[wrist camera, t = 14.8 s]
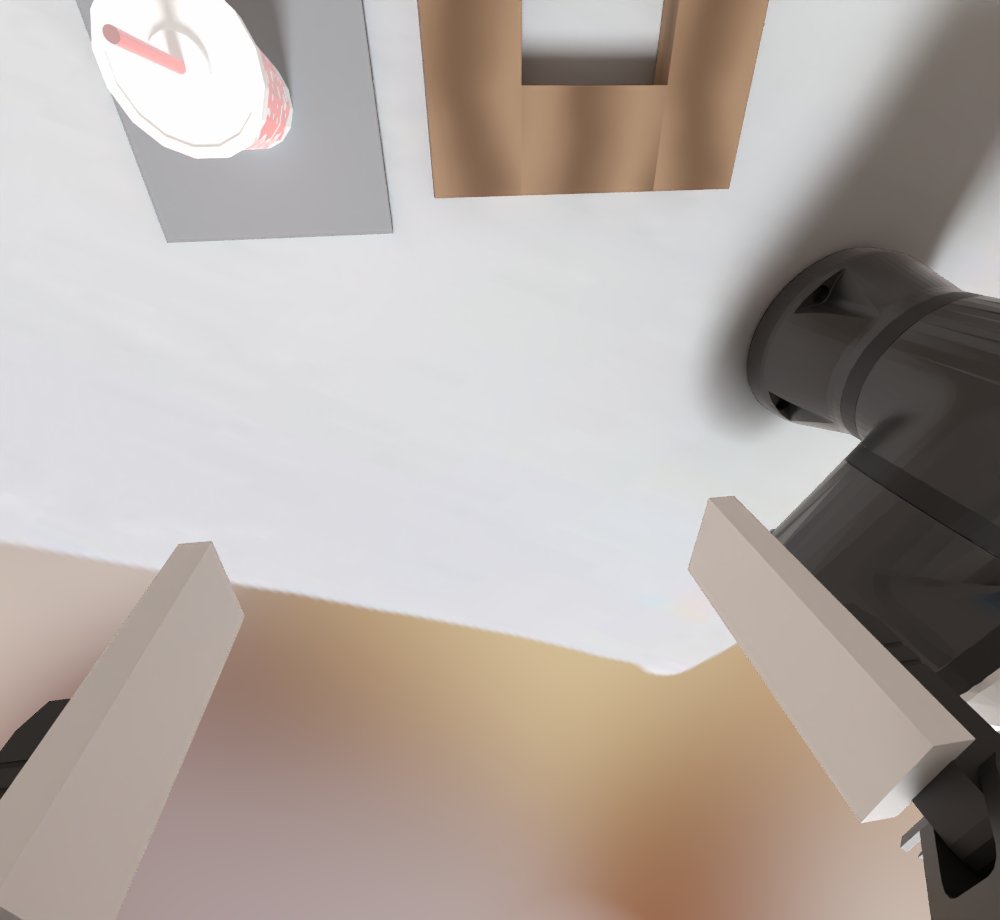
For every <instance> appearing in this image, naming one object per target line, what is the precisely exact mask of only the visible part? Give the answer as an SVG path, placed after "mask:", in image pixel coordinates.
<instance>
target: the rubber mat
mask: <svg viewBox="0 0 1000 920" xmlns="http://www.w3.org/2000/svg"><path fill="white" fill-rule="evenodd" d="M93 1H94V0H76V2H77V5H78V8H79V10H80V13H81V16H82V18H83V21H84V23H85V26H86V29H87V31H88V34H89V37H90V39H91V16H90V8H91V6H92V3H93ZM225 1H226V2H227V3H228V4H229V5H230V6H231V7H232V8H233V9H234V10H235V11H236V12H237V14H238V15H239V16H240V17H241V19H242V21H243V22H244V24H245V26H246V28H247V30H248V31H249V33H250V35H251V37H252V38H253V40H254V42H255V44H256V45H257V46H258V48H259V49H260V50H261V51H262V52H263V54H264V55H265V56H266V57H267V58H268V59H269V61H270V62H271V63H272V64H273V65H274V67H275V68H276V69H277V70H278V71H279V73H280V75H281V77H282V79H283V80H284V82H285V84H286V86H287V88H288V89H289V93H290V98H291V103H292V107H293V114H292V122H291V128H290V130H289V131H288V133H287V135H286V136H285V138H284V140H283V141H282V142H280V143H278V144H277V145H275V146H273V147H271V148H269V149H253V150H242V151H240V152H239V153H237V154H235V155H233V156H232V157H230V158H202V159H196V158H193V157H190V156H187V155H185V154H182V153H180V152H177V151H174V150H172V149H169V148H166V147H164V146H162V145H161V144H160V143H158V142H157V141H156V140H155V139H153V138H152V137H151V136H150V135H148V134H147V133H146V132H145V131H143V130H142V129H141V128H139V127H138V126H137V125H136V124H134V123H133V122H132V121H131V119H130V118H129V117H128V115H127V114H126V113H125V111H124V110H123V108H122V107H121V106H120V104H119V103H118V102H117V100H116V99H115V98H114V96H113V95H112V94H111V95H112V98H113V100H114V103H115V106H116V108H117V111H118V114H119V116H120V119H121V122H122V124H123V127H124V129H125V132H126V135H127V137H128V140H129V143H130V145H131V148H132V151H133V153H134V156H135V159H136V161H137V164H138V167H139V169H140V172H141V175H142V177H143V180H144V182H145V185H146V188H147V190H148V193H149V196H150V198H151V201H152V204H153V206H154V209H155V212H156V214H157V217H158V220H159V222H160V225H161V228H162V230H163V233H164V235H165V238H166V241H167V243H172V242H196V241H220V240H244V239H268V238H292V237H316V236H340V235H365V234H389V233H393V229H392V221H391V214H390V206H389V199H388V191H387V184H386V177H385V169H384V162H383V154H382V147H381V139H380V132H379V124H378V117H377V109H376V102H375V94H374V87H373V79H372V72H371V64H370V57H369V49H368V42H367V35H366V27H365V20H364V12H363V5H362V0H225ZM91 42H92V39H91Z"/></svg>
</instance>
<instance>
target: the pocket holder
mask: <svg viewBox="0 0 1000 920" xmlns="http://www.w3.org/2000/svg"><path fill="white" fill-rule="evenodd" d="M768 2H769V0H664V3H663V12H662V20H661V28H660V36H659V44H658V52H657V60H656V68H655V77H654V85H522V0H417V4H418V15H419V27H420V38H421V50H422V61H423V73H424V84H425V96H426V107H427V119H428V131H429V142H430V154H431V165H432V177H433V188H434V197H435V198H456V197H487V196H517V195H548V194H579V193H610V192H641V191H672V190H703V189H729V186H730V181H731V176H732V172H733V167H734V162H735V158H736V153H737V148H738V144H739V139H740V134H741V129H742V125H743V120H744V115H745V111H746V106H747V101H748V97H749V92H750V87H751V82H752V78H753V73H754V68H755V64H756V59H757V54H758V50H759V45H760V40H761V35H762V31H763V26H764V21H765V17H766V12H767V7H768Z"/></svg>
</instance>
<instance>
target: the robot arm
mask: <svg viewBox="0 0 1000 920" xmlns="http://www.w3.org/2000/svg"><path fill="white" fill-rule="evenodd" d="M747 372H748V380H749V385H750V387H751V390H752V392H753V394H754V396H755V397H756V399H757V400H758V401H759V402H760V403H761V404H762V405H763V406H764V407H766V408H767V409H769V410H770V411H772V412H773V413H775V414H776V415H778V416H780V417H781V418H783V419H785V420H788V421H790V422H793V423H797V424H802V425H807V426H812V427H817V428H822V429H827V430H832V431H837V432H842V433H847V434H851V435H853V436H855V437H856V438H858V439H860V440H861V442H860V444H859V445H858V446H857V447H856V448H855V449H854V450H853V451H852V452H851V453H850V454H849V455H848V456H847V457H846V458H845V459H844V460H843V461H842V462H841V463H840V464H839V465H838V466H837V467H836V468H835V469H834V470H833V471H832V472H831V473H830V474H829V475H828V476H827V478H826V479H825V480H824V481H823V482H822V483H821V484H820V485H819V486H818V487H817V488H816V489H815V490H814V491H813V492H812V493H811V494H810V495H809V496H808V497H807V498H806V499H805V500H804V501H803V502H802V503H801V504H800V505H799V506H798V507H797V508H796V509H795V510H794V511H793V512H792V513H791V514H790V515H789V516H788V517H787V518H786V519H785V520H784V521H783V522H782V523H781V524H780V525H779V526H778V527H777V528H776V529H771V530H770V531H768V530H767V529H766V528H765V527H764V526H763V525H762V524H761V523H760V522H759V521H758V520H757V519H756V517H755V516H754V515H753V514H752V513H751V512H750V511H749V510H748V509H747V508H746V507H745V506H744V505H743V504H742V503H741V502H740V501H739V500H738V499H737V498H736V497H735V496H727V497H716V498H709V499H708V502H707V506H706V509H705V513H704V516H703V519H702V523H701V526H700V530H699V533H698V536H697V540H696V543H695V546H694V550H693V553H692V557H691V560H690V563H689V567H688V571H689V572H690V574H691V575H692V577H693V578H694V580H695V581H696V583H697V584H698V585H699V587H700V588H701V590H702V591H703V593H704V594H705V596H706V597H707V599H708V600H709V602H710V603H711V605H712V606H713V608H714V609H715V610H716V612H717V613H718V615H719V616H720V618H721V619H722V621H723V622H724V624H725V625H726V627H727V628H728V630H729V631H730V632H731V634H732V635H733V637H734V638H735V640H736V641H737V643H738V644H739V646H740V647H741V649H742V650H743V651H744V653H745V654H746V656H747V657H748V659H749V660H750V662H751V663H752V665H753V666H754V668H755V669H756V671H757V672H758V673H759V675H760V677H761V678H762V679H763V681H764V682H765V684H766V685H767V687H768V688H769V690H770V691H771V693H772V694H773V695H774V697H775V698H776V700H777V701H778V703H779V704H780V706H781V707H782V709H783V710H784V712H785V713H786V715H787V716H788V717H789V719H790V721H791V722H792V724H793V725H794V726H795V727H796V729H797V731H798V732H799V733H800V735H801V737H802V738H803V740H804V741H805V743H806V744H807V745H808V747H809V748H810V750H811V751H812V753H813V754H814V756H815V757H816V759H817V760H818V761H819V763H820V765H821V766H822V768H823V769H824V771H825V772H826V773H827V775H828V776H829V778H830V779H831V781H832V782H833V784H834V785H835V787H836V788H837V790H838V791H839V793H840V794H841V795H842V797H843V798H844V800H845V801H846V803H847V804H848V806H849V807H850V809H851V810H852V812H853V813H854V815H855V816H856V817H857V819H858V820H859V822H860V823H864V822H870V821H875V820H881V819H886V818H891V817H896V816H898V815H899V814H900V813H901V812H902V811H903V810H904V809H905V808H906V807H907V806H908V805H909V804H910V803H911V802H913V803H914V804H915V805H916V807H917V808H918V809H919V810H920V812H921V813H922V814H923V815H924V817H923V818H922V819H921V820H920V821H919V822H918V823H916V824H915V825H914V826H913V827H912V828H911V829H910V830H909V831H908V832H907V833H906V834H905V835H903V836H902V840H901V847H900V848H901V849H903V850H905V851H907V852H908V851H909V850H910V849H911V848H913V847H914V846H915V845H916V844H917V843H918V842H920V841H921V845H922V852H921V853H920V854H919V858H920V859H922V860H923V861H924V869H925V876H926V883H927V891H928V899H929V906H930V913H931V920H1000V299H999V298H994V297H988V296H983V295H978V294H973V293H969V292H964V291H962V290H960V289H959V288H958V287H956V286H955V285H953V284H952V283H950V282H949V281H947V280H946V279H944V278H943V277H941V276H940V275H938V274H937V273H935V272H934V271H932V270H931V269H930V268H928V267H927V266H925V265H924V264H922V263H921V262H919V261H918V260H916V259H915V258H913V257H911V256H909V255H906V254H904V253H901V252H897V251H892V250H885V249H879V248H871V247H859V248H852V249H847V250H843V251H840V252H837V253H835V254H832V255H830V256H828V257H826V258H824V259H822V260H820V261H818V262H816V263H815V264H813V265H812V266H810V267H809V268H807V269H806V270H805V271H803V272H802V273H801V274H799V275H798V276H797V277H796V278H795V279H794V280H792V281H791V282H790V283H789V284H788V285H787V286H786V287H785V288H784V289H783V291H782V292H781V293H780V294H779V295H778V296H777V297H776V299H775V300H774V301H773V303H772V304H771V305H770V307H769V308H768V310H767V311H766V313H765V314H764V316H763V318H762V320H761V322H760V323H759V325H758V328H757V330H756V332H755V334H754V337H753V340H752V343H751V346H750V351H749V356H748V365H747ZM244 617H245V616H244V614H243V611H242V609H241V607H240V604H239V602H238V600H237V598H236V595H235V593H234V591H233V589H232V586H231V584H230V582H229V579H228V577H227V575H226V572H225V570H224V568H223V565H222V563H221V561H220V559H219V556H218V554H217V552H216V549H215V547H214V545H213V542H212V541H209V542H197V543H186V544H178V546H177V547H176V549H175V550H174V552H173V553H172V554H171V556H170V557H169V559H168V560H167V562H166V563H165V565H164V566H163V567H162V569H161V570H160V572H159V573H158V575H157V576H156V578H155V579H154V580H153V582H152V583H151V585H150V586H149V588H148V589H147V590H146V592H145V593H144V595H143V596H142V597H141V599H140V600H139V602H138V603H137V605H136V606H135V608H134V609H133V610H132V612H131V613H130V615H129V616H128V618H127V619H126V620H125V622H124V623H123V625H122V626H121V628H120V629H119V630H118V632H117V634H116V635H115V636H114V638H113V639H112V640H111V642H110V643H109V645H108V646H107V648H106V649H105V651H104V652H103V653H102V655H101V656H100V658H99V659H98V661H97V662H96V664H95V665H94V666H93V668H92V669H91V671H90V672H89V674H88V675H87V676H86V678H85V679H84V681H83V682H82V684H81V685H80V687H79V688H78V690H77V691H76V692H75V694H74V695H73V696H72V698H71V699H63V700H55V701H49V702H48V703H47V704H46V705H45V706H43V707H42V708H41V709H40V710H39V711H38V712H36V713H35V714H34V715H33V716H32V717H31V718H30V719H29V720H27V722H25V723H24V724H23V725H22V726H21V727H20V728H19V729H17V730H16V731H15V732H14V734H13V735H12V737H11V738H10V739H9V740H8V742H7V743H6V744H5V746H4V747H3V748H2V750H1V751H0V920H116V918H117V915H118V913H119V910H120V908H121V906H122V903H123V901H124V899H125V896H126V894H127V892H128V889H129V887H130V885H131V882H132V880H133V878H134V875H135V873H136V870H137V868H138V866H139V864H140V861H141V859H142V857H143V854H144V852H145V849H146V847H147V845H148V842H149V840H150V838H151V835H152V833H153V831H154V828H155V826H156V824H157V821H158V819H159V817H160V814H161V812H162V810H163V807H164V805H165V803H166V800H167V798H168V795H169V793H170V791H171V788H172V786H173V784H174V781H175V779H176V777H177V774H178V772H179V770H180V767H181V765H182V763H183V760H184V758H185V755H186V753H187V750H188V749H189V746H190V744H191V741H192V739H193V737H194V734H195V732H196V729H197V727H198V725H199V722H200V720H201V718H202V715H203V713H204V711H205V708H206V706H207V704H208V702H209V699H210V697H211V694H212V692H213V690H214V687H215V685H216V683H217V680H218V678H219V676H220V673H221V671H222V669H223V666H224V664H225V662H226V659H227V657H228V655H229V652H230V650H231V647H232V645H233V643H234V641H235V638H236V636H237V633H238V631H239V629H240V626H241V624H242V622H243V619H244Z"/></svg>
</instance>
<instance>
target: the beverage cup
mask: <svg viewBox="0 0 1000 920" xmlns="http://www.w3.org/2000/svg"><path fill="white" fill-rule="evenodd" d="M90 16H91V39H92V50H93V52H94V55H95V57H96V60H97V63H98V65H99V68H100V70H101V73H102V76H103V78H104V81H105V83H106V86H107V88H108V90H109V91H110V92H111V94H112V95H113V96H114V98H115V99H116V100H117V102H118V103H119V104H120V106H121V107H122V108H123V110H124V111H125V113H126V114H127V115H128V117H129V118H130V119H131V121H132V122H133V123H134V124H136V125H137V126H138V127H139V128H141V129H142V130H143V131H145V132H146V133H147V134H148V135H150V136H151V137H152V138H153V139H155V140H156V141H157V142H158V143H160V144H161V145H162V146H164V147H166V148H169V149H172V150H174V151H177V152H180V153H182V154H185V155H187V156H190V157H193V158H196V159H202V158H230V157H232V156H233V155H235V154H237V153H239V152H240V151H242V150H253V149H269V148H271V147H273V146H275V145H277V144H278V143H280V142H282V141H283V140H284V138H285V136H286V135H287V133H288V131H289V130H290V128H291V122H292V114H293V107H292V103H291V98H290V93H289V89H288V88H287V86H286V84H285V82H284V80H283V79H282V77H281V75H280V73H279V71H278V70H277V69H276V68H275V67H274V65H273V64H272V63H271V62H270V61H269V59H268V58H267V57H266V56H265V55H264V54H263V52H262V51H261V50H260V49H259V48H258V46H257V45H256V44H255V42H254V40H253V38H252V37H251V35H250V33H249V31H248V30H247V28H246V26H245V24H244V22H243V21H242V19H241V17H240V16H239V15H238V14H237V12H236V11H235V10H234V9H233V8H232V7H231V6H230V5H229V4H228V3H227V2H226V1H225V0H94V1H93V3H92V6H91V8H90Z"/></svg>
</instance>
